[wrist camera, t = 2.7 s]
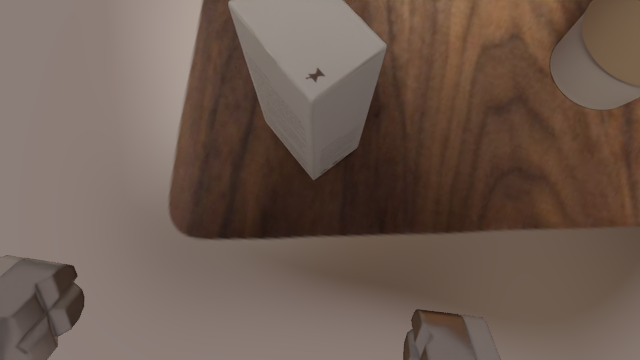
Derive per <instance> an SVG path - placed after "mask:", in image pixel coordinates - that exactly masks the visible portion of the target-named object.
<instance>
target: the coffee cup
mask: <svg viewBox="0 0 640 360" xmlns="http://www.w3.org/2000/svg"><path fill="white" fill-rule="evenodd" d="M550 70H551V74H552V77H553V80H554V82H555V84H556V85H557V87H558V88H559V89H560V91H561V92H562V93H563V94H564V95H565V96H566V97H567V98H569V99H570V100H572V101H573V102H575V103H577V104H579V105H581V106H583V107H586V108H590V109H595V110H609V109H613V108H617V107H619V106H621V105H624V104H626V103H628V102H630V101H632V100H635V99H637V98H639V97H640V0H592V2H591V3H590V4H589V6H588V7H587V9H586V11H585V13H584V14H583V15H582V16H581V17H580V18H579V20H578V21H577V22H576V23H575V24H574V25H573V27H572V28H571V29H570V30H569V31H568V32H567V33H566V35H565V36H564V37H563V38H562V39H561V40H560V42H559V43H558V44H557V45H556V46H555V48H554V50H553V52H552V55H551V59H550Z"/></svg>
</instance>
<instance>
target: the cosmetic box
mask: <svg viewBox="0 0 640 360" xmlns="http://www.w3.org/2000/svg"><path fill="white" fill-rule="evenodd" d="M228 7H229V9H230V12H231V16H232V19H233V22H234V25H235V28H236V32H237V35H238V38H239V41H240V44H241V47H242V50H243V54H244V57H245V60H246V63H247V66H248V69H249V72H250V75H251V78H252V81H253V84H254V87H255V90H256V94H257V97H258V100H259V103H260V106H261V109H262V112H263V115H264V119H265V121H266V123H267V124H268V125H269V126H270V128H271V129H272V130H273V131H274V133H275V134H276V135H277V136H278V138H279V139H280V140H281V141H282V142H283V144H284V145H285V146H286V148H287V149H288V150H289V151H290V152H291V154H292V155H293V156H294V157H295V159H296V160H297V161H298V162H299V164H300V165H301V166H302V167H303V168H304V170H305V171H306V172H307V173H308V175H309V176H310V177H311V178H312V180H315V179H317V178H318V177H319V176H321V175H322V174H323V173H325V172H326V171H327V170H329V169H330V168H331V167H333V166H334V165H335V164H336V163H338V162H339V161H340V160H342V159H343V158H344V157H346V156H347V155H348V154H350V153H351V152H352V151H354V150H355V149H356V148H357V147H358V145H359V141H360V138H361V134H362V131H363V128H364V124H365V120H366V117H367V114H368V110H369V107H370V103H371V100H372V97H373V93H374V90H375V86H376V83H377V79H378V76H379V72H380V69H381V66H382V63H383V59H384V55H385V52H386V47H387V46H386V43H385V42H383V41H382V40H381V39H380V38H379V36H378V35H377V34H376V33H375V32H374V31H373V30H372V29H371V28H370V27H369V26H368V25H367V24H366V23H365V22H364V21H363V20H362V19H361V18H360V17H359V16H358V15H357V14H356V13H355V12H354V11H353V10H352V9H351V8H350V7H349V6H348V5H347V4H346V3H345V2H344V1H343V0H230V1H229V2H228Z"/></svg>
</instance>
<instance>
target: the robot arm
mask: <svg viewBox="0 0 640 360" xmlns="http://www.w3.org/2000/svg"><path fill="white" fill-rule="evenodd" d="M76 278H77V273H76V271H75V268H74V266H72V265H67V264H62V263H56V262H49V261H43V260H37V259H30V258H22V257H16V256H9V255H6V256H3V257H0V360H47V359H48V358H49V356H50V355H51V354H52V353H53V351H54V350H55V349H56V348H57V346H58V336H60V335H62V334H63V333H65V332H67V331H69V330H71V329H72V327H73V326H74V325H75V323H76V322H77V321H78V319H79V318H80V315H81V312H82V310H83V307H84V294H83V291H82V289H81V288H80V287H79V286H78V285H77V284H75V283H74V281H75V279H76ZM411 321H412V327H413V329H412V330H411V331H409V332H408V333H407V336H406V339H405V342H404V352H403V359H404V360H501V359H500V356H499V354H498V351H497V349H496V346H495V343H494V341H493V338H492V336H491V333H490V330H489V328H488V325H487V323H486V321H485V320H484V319H483V318H482V317H474V316H466V315H458V314H451V313H444V312H435V311H427V310H416V311H415V312H414V314H413V317H412V320H411Z"/></svg>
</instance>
